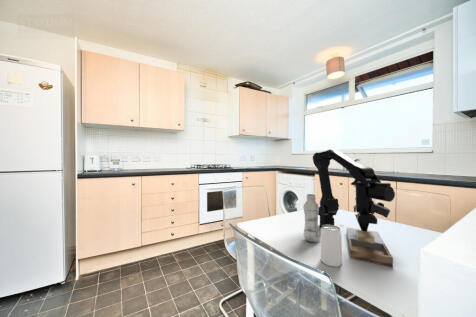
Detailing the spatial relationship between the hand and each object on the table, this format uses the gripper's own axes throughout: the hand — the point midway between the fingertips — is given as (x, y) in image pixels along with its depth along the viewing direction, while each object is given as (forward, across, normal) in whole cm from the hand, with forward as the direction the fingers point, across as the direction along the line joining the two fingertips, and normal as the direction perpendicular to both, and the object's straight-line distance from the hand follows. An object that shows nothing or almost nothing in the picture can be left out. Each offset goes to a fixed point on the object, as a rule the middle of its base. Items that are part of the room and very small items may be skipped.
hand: (364, 233), depth 79 cm
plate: (+4, +2, 0) cm, 4 cm away
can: (+4, -22, +12) cm, 26 cm away
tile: (+1, -4, 0) cm, 4 cm away
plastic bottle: (+4, -7, +20) cm, 22 cm away
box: (+4, -11, 0) cm, 12 cm away
